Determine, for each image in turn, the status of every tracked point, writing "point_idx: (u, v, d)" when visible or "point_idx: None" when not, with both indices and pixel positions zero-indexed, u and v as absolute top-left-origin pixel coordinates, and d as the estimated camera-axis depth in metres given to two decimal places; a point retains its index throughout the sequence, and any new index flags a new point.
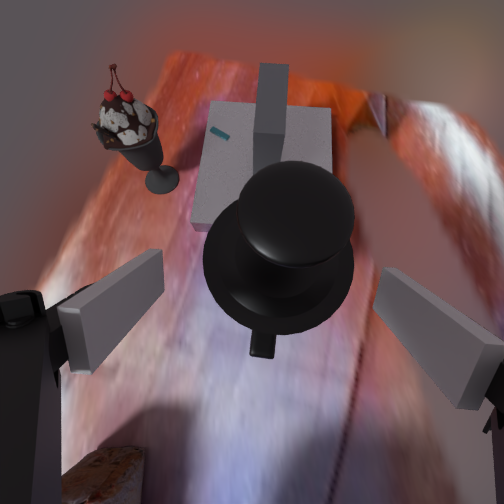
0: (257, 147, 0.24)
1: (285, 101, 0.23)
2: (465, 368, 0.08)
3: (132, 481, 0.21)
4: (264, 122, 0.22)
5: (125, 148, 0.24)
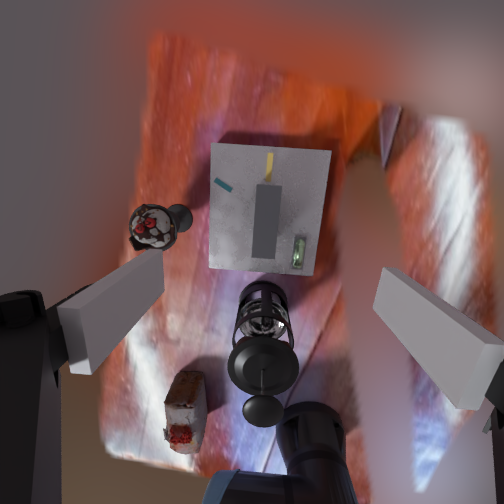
0: None
1: (276, 228, 0.29)
2: (465, 368, 0.08)
3: (201, 389, 0.47)
4: (259, 248, 0.29)
5: None
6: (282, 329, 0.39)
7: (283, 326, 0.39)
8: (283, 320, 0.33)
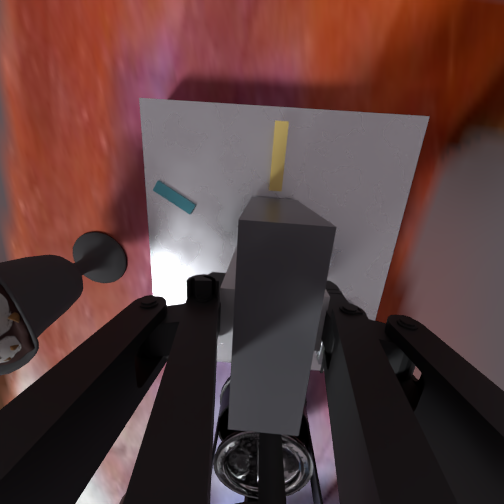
0: None
1: (308, 359, 0.09)
2: None
3: None
4: (252, 408, 0.10)
5: None
6: (301, 481, 0.20)
7: (303, 477, 0.20)
8: None
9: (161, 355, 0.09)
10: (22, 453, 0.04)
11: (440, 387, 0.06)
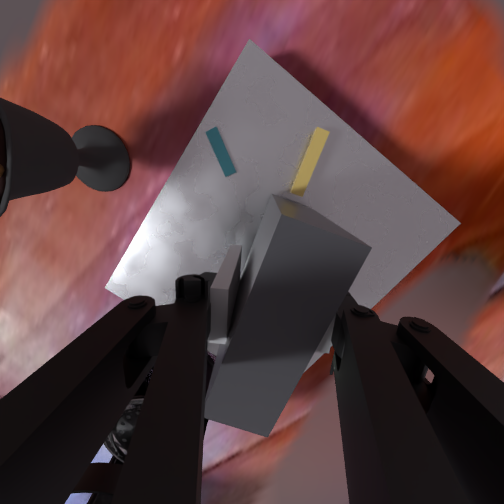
0: None
1: (302, 366, 0.09)
2: None
3: None
4: (231, 402, 0.09)
5: None
6: None
7: None
8: None
9: (150, 356, 0.09)
10: (6, 456, 0.04)
11: (453, 390, 0.06)
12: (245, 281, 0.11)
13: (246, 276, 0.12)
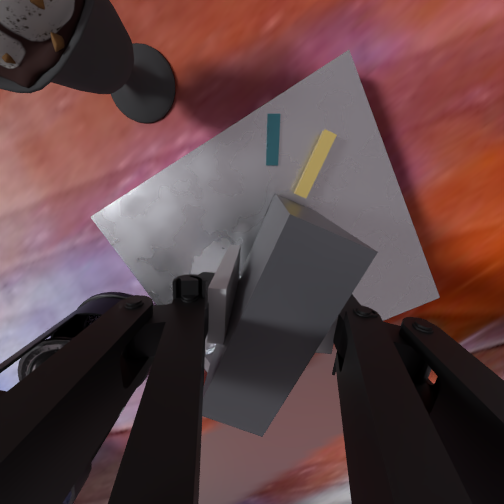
0: None
1: (301, 367, 0.09)
2: None
3: None
4: (228, 400, 0.09)
5: None
6: None
7: None
8: (83, 471, 0.13)
9: (147, 356, 0.09)
10: (2, 457, 0.04)
11: (456, 391, 0.06)
12: (246, 280, 0.11)
13: (247, 275, 0.12)
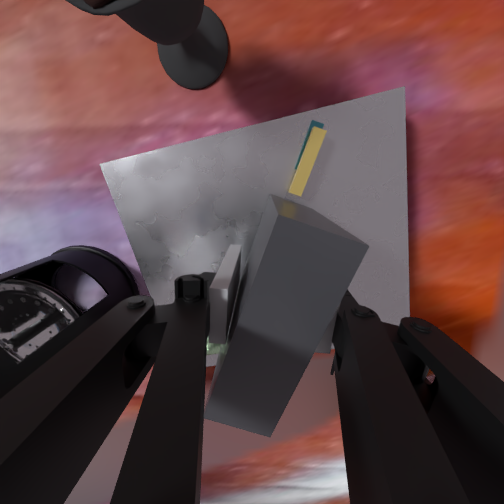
0: None
1: (303, 366, 0.09)
2: None
3: None
4: (233, 402, 0.09)
5: None
6: None
7: None
8: None
9: (149, 356, 0.09)
10: (4, 456, 0.04)
11: (454, 390, 0.06)
12: (245, 282, 0.11)
13: (246, 277, 0.12)
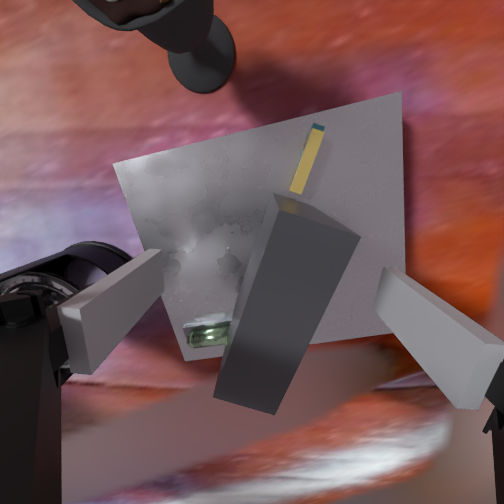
0: None
1: (303, 347, 0.10)
2: (465, 368, 0.08)
3: None
4: (240, 382, 0.10)
5: None
6: None
7: None
8: None
9: None
10: None
11: None
12: (249, 274, 0.12)
13: (250, 269, 0.13)
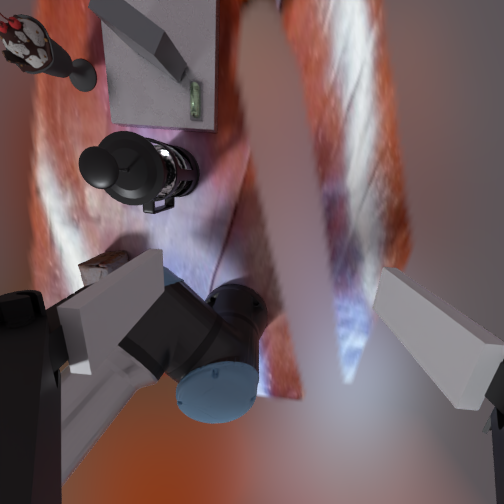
0: (161, 59, 0.31)
1: (134, 9, 0.28)
2: (465, 368, 0.08)
3: (120, 260, 0.48)
4: (147, 41, 0.29)
5: (36, 71, 0.33)
6: None
7: None
8: (165, 146, 0.34)
9: None
10: None
11: None
12: (132, 43, 0.32)
13: (134, 45, 0.33)
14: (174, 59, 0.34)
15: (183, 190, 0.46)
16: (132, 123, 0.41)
